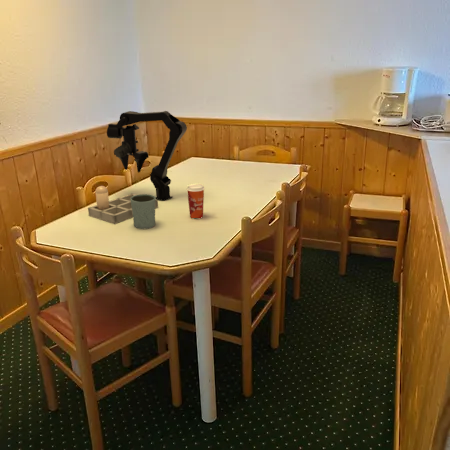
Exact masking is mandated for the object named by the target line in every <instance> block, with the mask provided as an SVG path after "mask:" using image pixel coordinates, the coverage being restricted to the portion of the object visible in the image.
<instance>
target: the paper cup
mask: <svg viewBox="0 0 450 450" xmlns="http://www.w3.org/2000/svg"><path fill="white" fill-rule="evenodd" d="M186 187H187V188H186V192H187V202H188V208H189V210H188V212H189V217H191V219H192V218H200V219H202V218H203V217H204V200H205V197H204V195H205V193H204V192H205V189H206V188H205V186H204V184H201V183H190V184H188V185H187V186H186ZM201 217H202V218H201Z"/></svg>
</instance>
